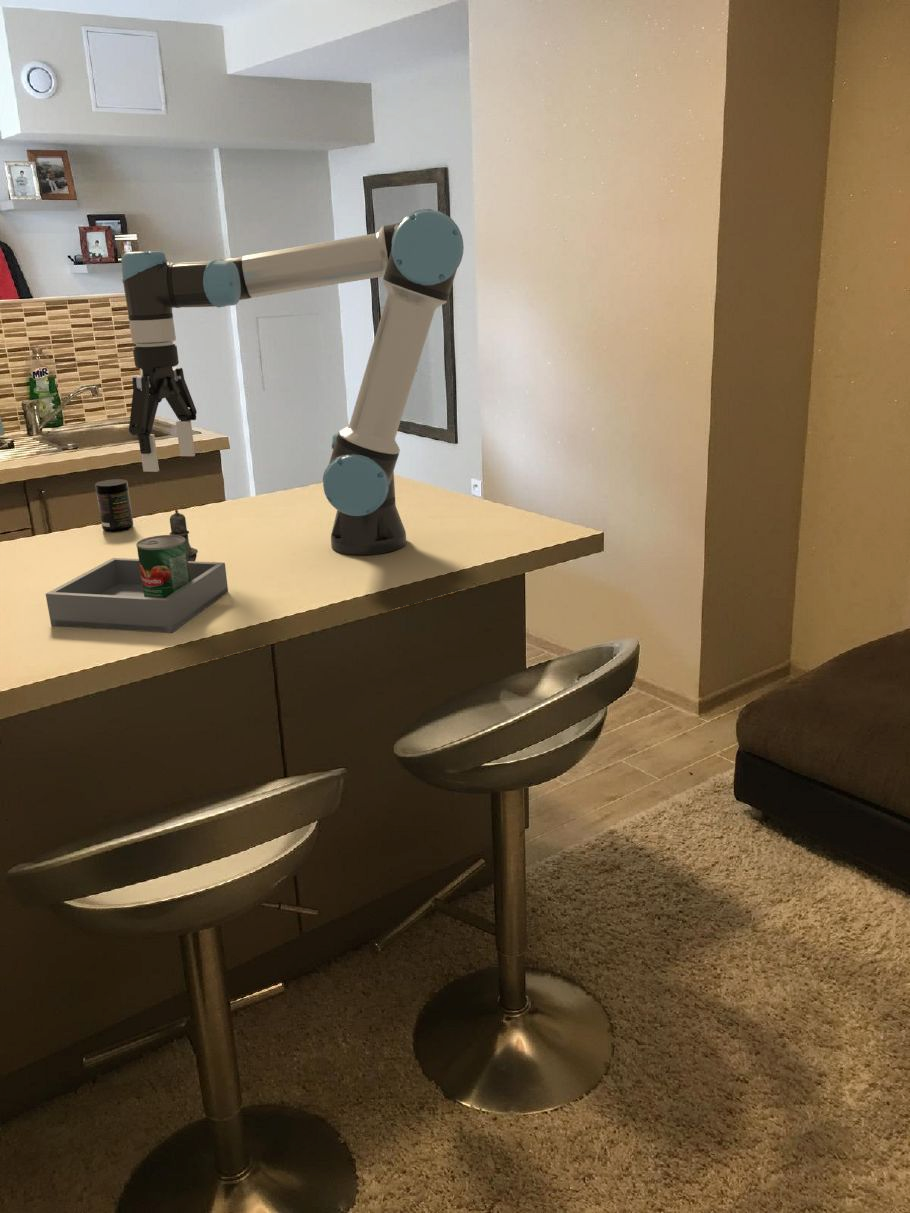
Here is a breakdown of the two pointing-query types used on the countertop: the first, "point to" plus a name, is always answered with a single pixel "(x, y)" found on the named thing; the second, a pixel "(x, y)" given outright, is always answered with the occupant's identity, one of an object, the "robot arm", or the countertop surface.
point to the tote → (133, 598)
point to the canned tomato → (163, 565)
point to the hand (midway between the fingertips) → (170, 463)
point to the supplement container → (114, 505)
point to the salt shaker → (182, 533)
